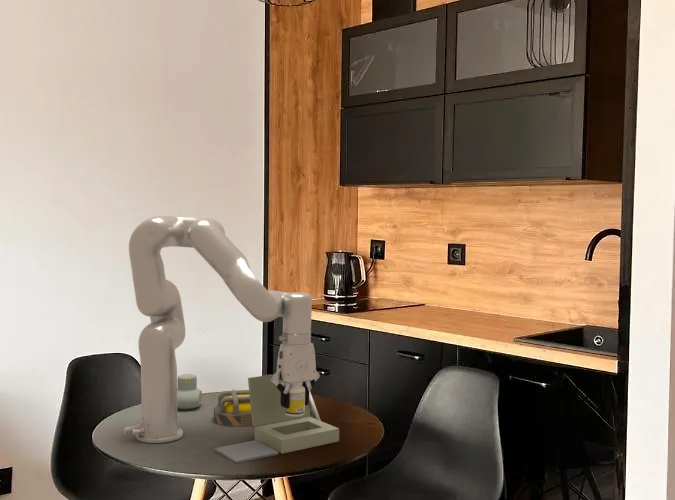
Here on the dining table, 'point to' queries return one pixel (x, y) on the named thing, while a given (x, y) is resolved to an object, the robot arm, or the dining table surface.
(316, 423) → the equipment case
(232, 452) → the slate pad
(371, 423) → the dining table surface
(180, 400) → the air freshener
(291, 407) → the supplement bottle
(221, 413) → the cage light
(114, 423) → the dining table surface
